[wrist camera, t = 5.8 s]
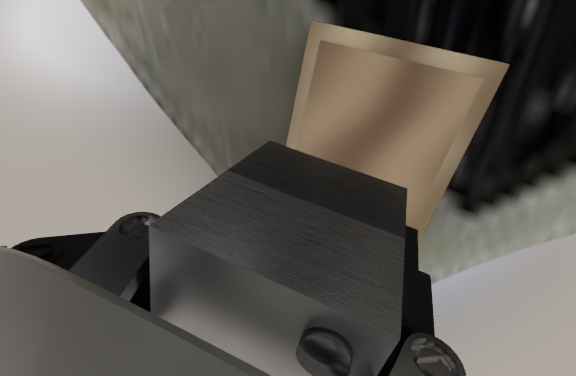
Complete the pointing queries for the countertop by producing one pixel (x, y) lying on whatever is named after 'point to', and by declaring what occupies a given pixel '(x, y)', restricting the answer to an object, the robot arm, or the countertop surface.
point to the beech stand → (390, 109)
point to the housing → (286, 265)
